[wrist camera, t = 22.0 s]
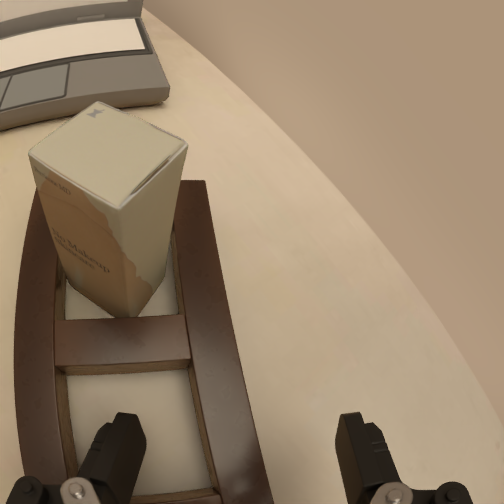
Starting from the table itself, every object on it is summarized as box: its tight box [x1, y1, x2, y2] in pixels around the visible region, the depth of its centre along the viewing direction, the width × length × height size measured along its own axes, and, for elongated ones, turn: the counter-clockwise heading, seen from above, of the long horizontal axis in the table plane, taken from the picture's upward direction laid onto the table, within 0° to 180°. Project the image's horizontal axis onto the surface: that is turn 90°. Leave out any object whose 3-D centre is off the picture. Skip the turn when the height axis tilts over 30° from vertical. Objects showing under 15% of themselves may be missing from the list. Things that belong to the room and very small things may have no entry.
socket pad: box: [14, 180, 274, 504], centre depth 16 cm, size 12×22×2 cm, turn 13°
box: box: [28, 101, 188, 318], centre depth 15 cm, size 5×4×11 cm
